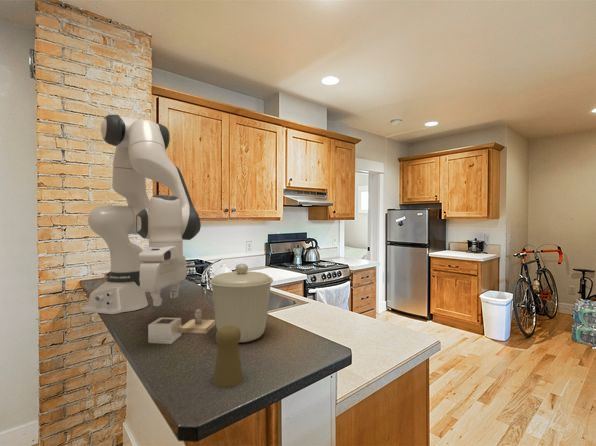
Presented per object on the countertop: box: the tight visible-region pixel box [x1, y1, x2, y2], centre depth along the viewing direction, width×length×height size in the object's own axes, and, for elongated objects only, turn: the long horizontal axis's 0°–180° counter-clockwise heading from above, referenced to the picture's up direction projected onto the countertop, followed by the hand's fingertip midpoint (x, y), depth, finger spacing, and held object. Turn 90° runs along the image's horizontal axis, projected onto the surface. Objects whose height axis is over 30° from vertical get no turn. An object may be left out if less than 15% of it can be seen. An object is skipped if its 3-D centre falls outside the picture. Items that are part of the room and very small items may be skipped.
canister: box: [208, 263, 274, 344], centre depth 90 cm, size 18×18×21 cm
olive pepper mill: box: [212, 326, 244, 389], centre depth 65 cm, size 6×6×11 cm
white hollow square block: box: [147, 317, 183, 345], centre depth 87 cm, size 6×6×5 cm
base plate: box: [181, 308, 216, 334], centre depth 96 cm, size 8×8×6 cm
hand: (166, 301), depth 87 cm, fingers open, 8 cm apart
